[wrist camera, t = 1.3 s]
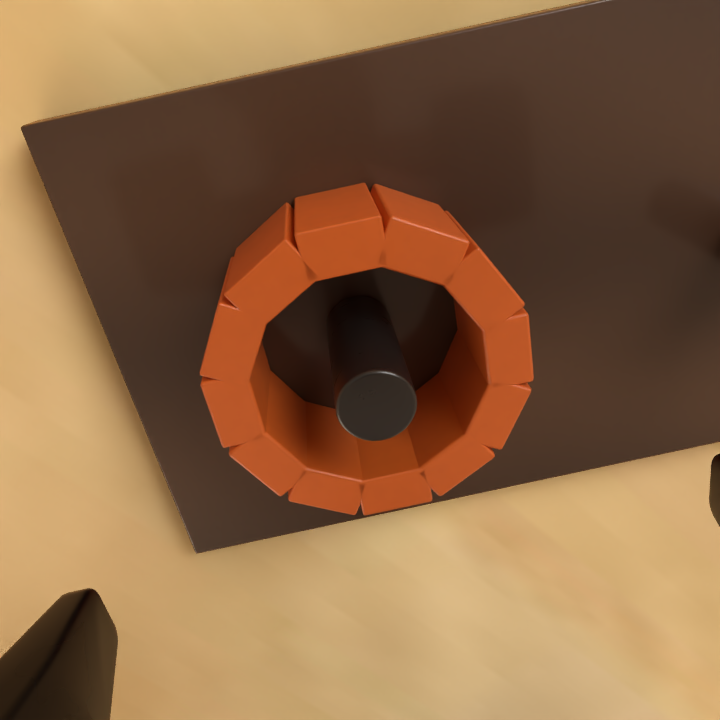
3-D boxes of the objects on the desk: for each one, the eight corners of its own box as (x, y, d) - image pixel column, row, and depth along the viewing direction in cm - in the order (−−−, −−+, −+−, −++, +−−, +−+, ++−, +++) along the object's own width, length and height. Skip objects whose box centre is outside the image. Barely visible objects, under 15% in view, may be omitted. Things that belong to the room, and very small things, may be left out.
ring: (505, 411, 18) (543, 478, 15) (260, 463, 18) (254, 540, 15) (478, 157, 15) (519, 184, 12) (181, 221, 15) (155, 263, 12)
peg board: (913, 378, 20) (1094, 479, 15) (199, 531, 20) (173, 675, 15) (1020, -94, 14) (1349, -152, 10) (35, 120, 14) (-80, 159, 10)
